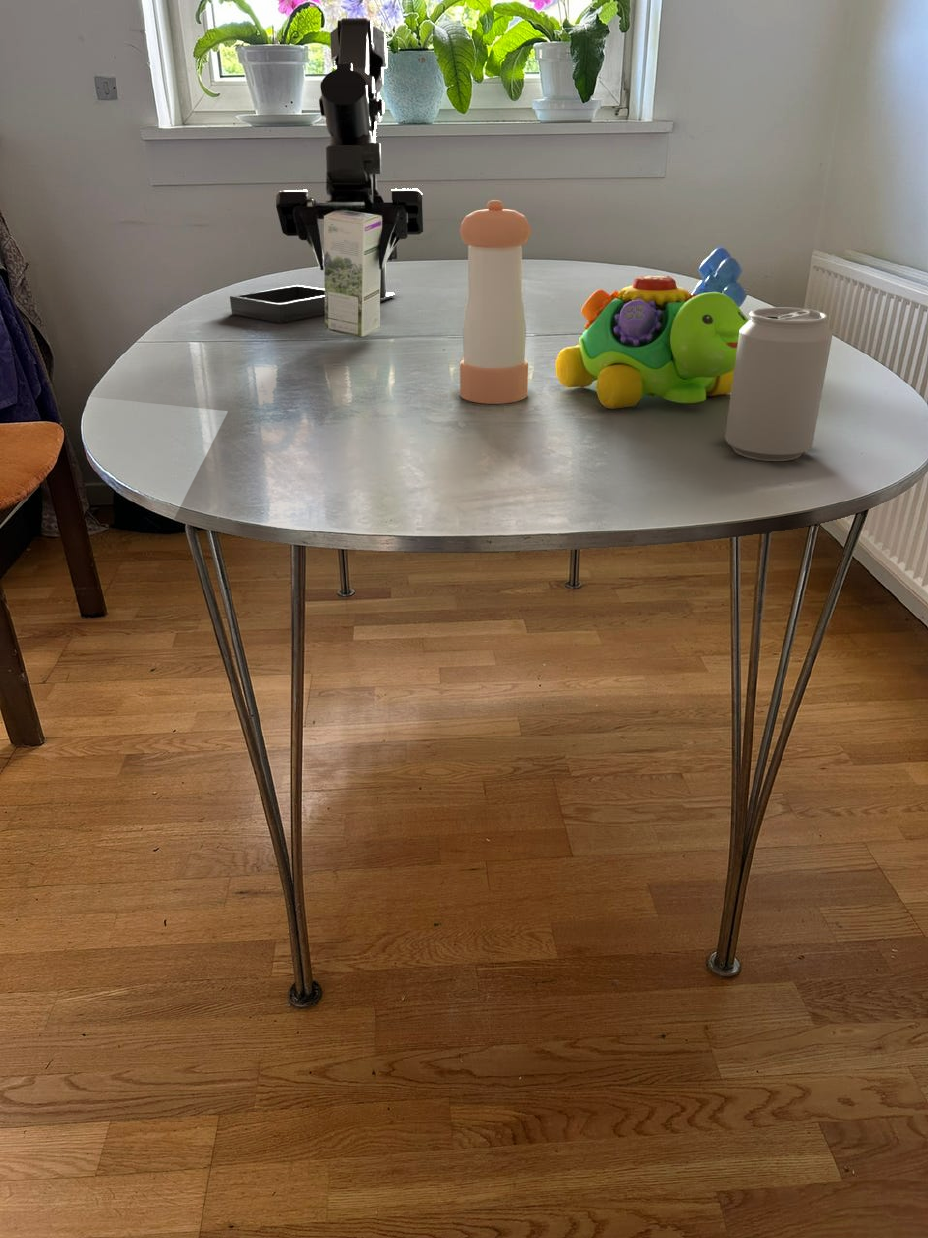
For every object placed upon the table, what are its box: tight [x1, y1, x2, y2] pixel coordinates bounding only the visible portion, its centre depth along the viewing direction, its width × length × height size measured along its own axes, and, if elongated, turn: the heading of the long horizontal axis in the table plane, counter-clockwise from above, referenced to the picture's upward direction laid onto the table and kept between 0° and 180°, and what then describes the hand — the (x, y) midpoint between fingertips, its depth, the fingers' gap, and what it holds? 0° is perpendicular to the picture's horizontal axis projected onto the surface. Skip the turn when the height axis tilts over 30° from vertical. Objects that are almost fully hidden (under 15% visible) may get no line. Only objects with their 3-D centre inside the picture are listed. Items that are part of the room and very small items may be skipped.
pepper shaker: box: [459, 199, 532, 405], centre depth 94 cm, size 7×7×19 cm
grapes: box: [690, 246, 748, 308], centre depth 115 cm, size 12×7×12 cm, turn 10°
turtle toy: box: [555, 275, 750, 410], centre depth 95 cm, size 17×23×12 cm
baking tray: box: [229, 284, 325, 324], centre depth 141 cm, size 14×12×3 cm
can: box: [724, 306, 833, 462], centre depth 79 cm, size 8×8×12 cm
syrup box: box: [323, 210, 382, 338], centre depth 119 cm, size 6×6×14 cm
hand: (351, 267), depth 117 cm, fingers closed on syrup box, 7 cm apart
